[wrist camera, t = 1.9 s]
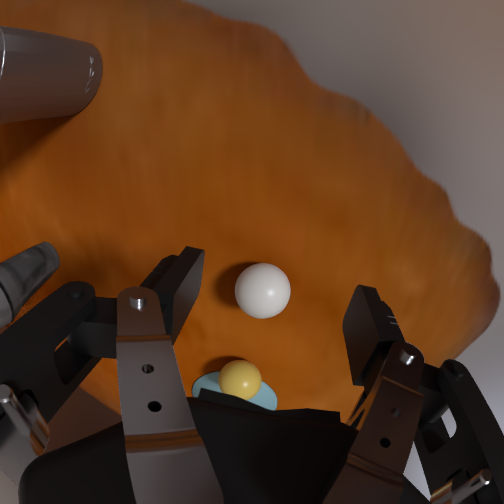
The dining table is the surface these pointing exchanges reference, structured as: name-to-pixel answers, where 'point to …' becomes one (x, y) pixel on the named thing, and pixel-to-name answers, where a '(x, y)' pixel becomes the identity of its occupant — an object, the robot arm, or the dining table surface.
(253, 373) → the yellow ball
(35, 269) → the beverage cup
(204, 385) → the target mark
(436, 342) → the dining table surface
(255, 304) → the cue ball
